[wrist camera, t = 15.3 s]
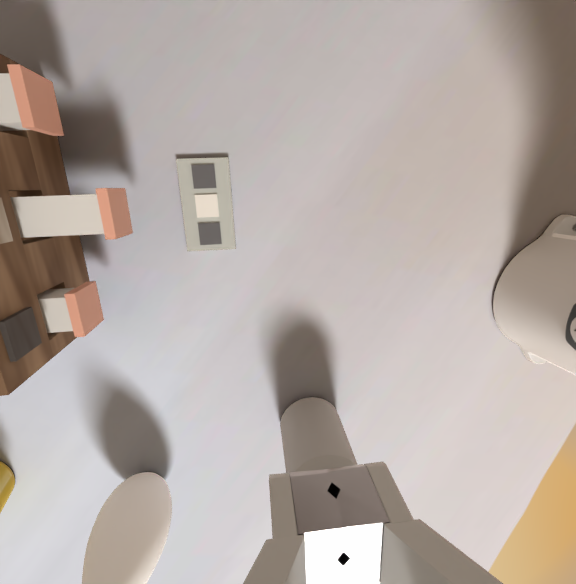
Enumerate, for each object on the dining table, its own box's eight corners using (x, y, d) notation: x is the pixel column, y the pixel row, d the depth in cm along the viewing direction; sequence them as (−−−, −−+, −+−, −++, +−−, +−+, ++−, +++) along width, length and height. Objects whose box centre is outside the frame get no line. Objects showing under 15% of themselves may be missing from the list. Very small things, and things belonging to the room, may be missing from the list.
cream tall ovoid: (183, 499, 45) (141, 692, 28) (122, 505, 44) (40, 707, 27) (177, 452, 42) (127, 630, 25) (113, 457, 42) (16, 645, 24)
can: (271, 435, 43) (279, 523, 32) (291, 386, 41) (306, 462, 30) (324, 446, 45) (350, 535, 33) (345, 400, 43) (379, 477, 31)
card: (228, 157, 33) (228, 157, 32) (235, 248, 35) (235, 249, 35) (176, 159, 32) (175, 158, 32) (188, 250, 35) (187, 251, 35)
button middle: (125, 188, 28) (106, 188, 25) (132, 233, 30) (116, 239, 26) (15, 192, 28) (-21, 192, 24) (27, 237, 29) (-5, 244, 25)
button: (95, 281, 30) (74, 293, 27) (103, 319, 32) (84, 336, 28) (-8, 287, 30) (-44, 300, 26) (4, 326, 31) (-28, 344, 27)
